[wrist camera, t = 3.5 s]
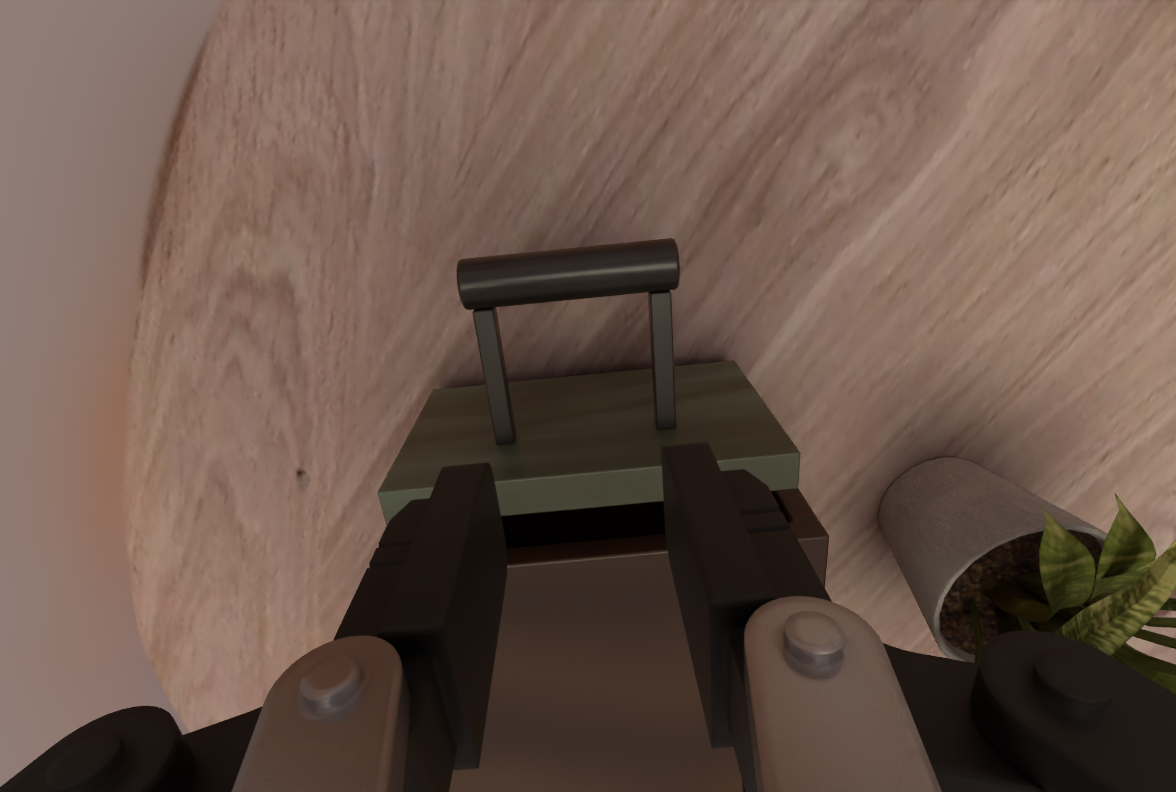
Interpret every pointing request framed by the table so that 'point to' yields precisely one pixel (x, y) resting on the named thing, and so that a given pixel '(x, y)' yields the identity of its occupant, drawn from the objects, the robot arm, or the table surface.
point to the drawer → (585, 409)
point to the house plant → (1024, 566)
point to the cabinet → (604, 672)
